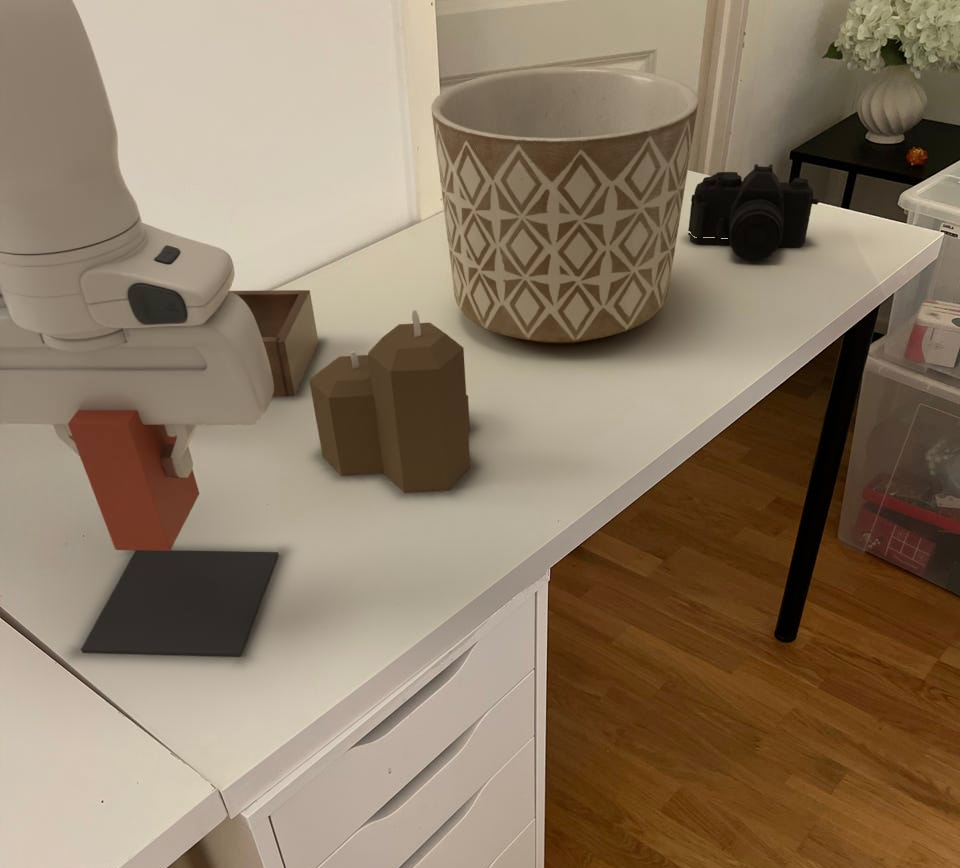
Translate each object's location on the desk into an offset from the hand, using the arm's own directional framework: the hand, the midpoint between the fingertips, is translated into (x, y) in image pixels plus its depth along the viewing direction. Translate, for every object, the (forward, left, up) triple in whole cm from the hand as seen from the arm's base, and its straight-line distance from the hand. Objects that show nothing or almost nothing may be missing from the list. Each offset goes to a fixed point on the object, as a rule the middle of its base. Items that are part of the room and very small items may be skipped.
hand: (143, 473), depth 67 cm
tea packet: (0, 0, -4) cm, 4 cm away
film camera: (+51, +69, -12) cm, 87 cm away
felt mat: (0, 0, -12) cm, 12 cm away
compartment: (-5, +38, -12) cm, 40 cm away
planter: (+28, +51, -12) cm, 59 cm away
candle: (+15, +21, -12) cm, 28 cm away
